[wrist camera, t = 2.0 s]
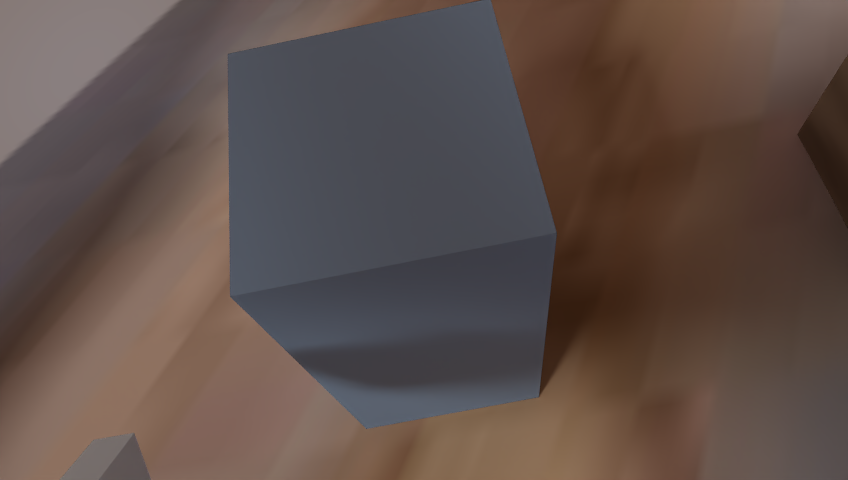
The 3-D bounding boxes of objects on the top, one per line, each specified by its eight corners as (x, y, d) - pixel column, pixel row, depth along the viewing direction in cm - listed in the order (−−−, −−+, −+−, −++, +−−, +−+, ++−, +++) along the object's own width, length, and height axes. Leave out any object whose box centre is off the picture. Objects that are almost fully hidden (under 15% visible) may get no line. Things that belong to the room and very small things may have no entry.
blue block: (366, 428, 22) (229, 296, 12) (349, 273, 25) (228, 53, 15) (538, 397, 22) (556, 232, 12) (502, 243, 25) (490, -2, 14)
